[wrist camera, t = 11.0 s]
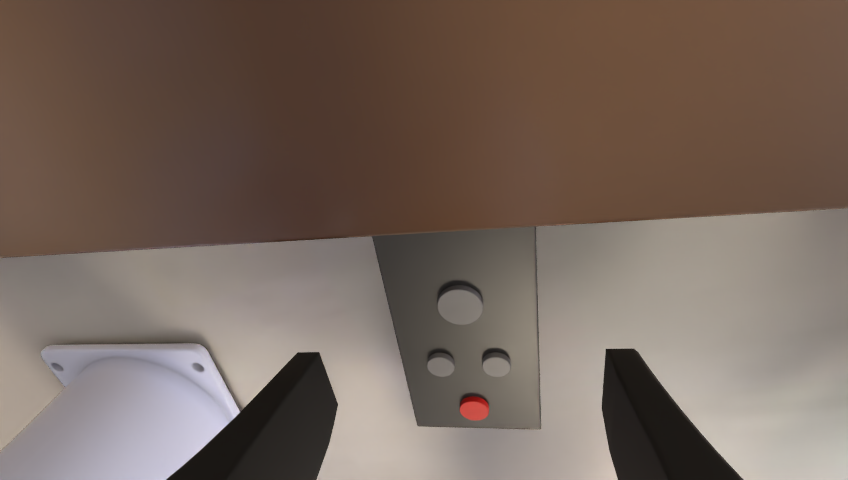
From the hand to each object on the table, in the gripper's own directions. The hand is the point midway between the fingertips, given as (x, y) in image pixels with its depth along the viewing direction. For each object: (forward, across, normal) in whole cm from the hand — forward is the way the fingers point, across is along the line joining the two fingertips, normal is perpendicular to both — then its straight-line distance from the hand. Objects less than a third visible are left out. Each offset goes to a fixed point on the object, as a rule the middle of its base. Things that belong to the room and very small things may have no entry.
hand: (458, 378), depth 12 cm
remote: (+4, 0, 0) cm, 4 cm away
